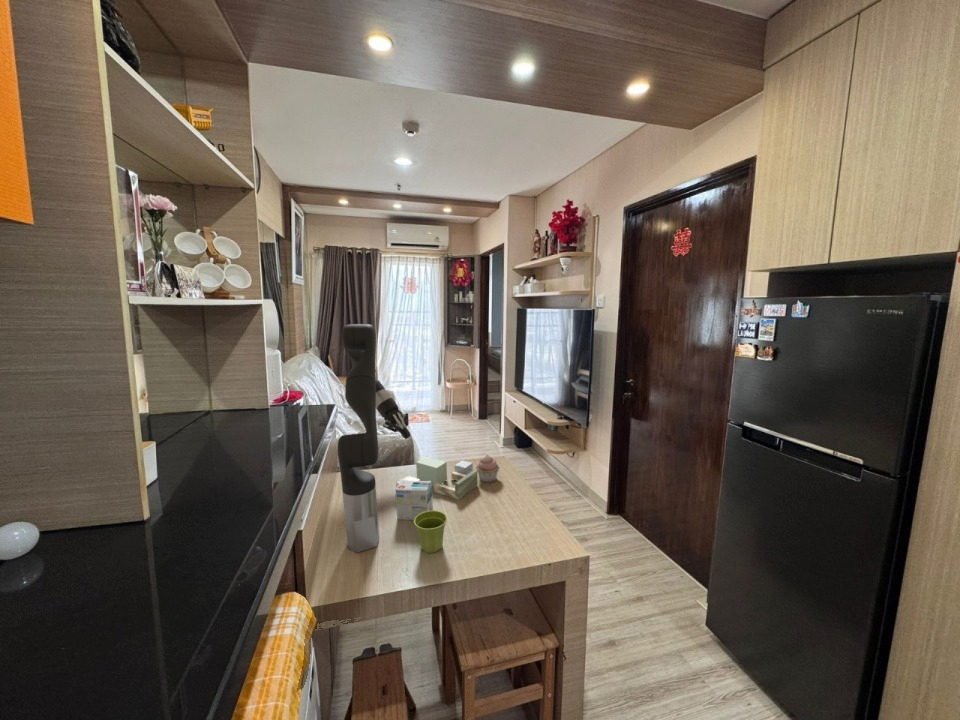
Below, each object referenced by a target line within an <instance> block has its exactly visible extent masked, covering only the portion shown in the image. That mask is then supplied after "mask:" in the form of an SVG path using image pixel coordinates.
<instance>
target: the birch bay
mask: <svg viewBox="0 0 960 720" xmlns="http://www.w3.org/2000/svg"><path fill="white" fill-rule="evenodd" d="M452 479H453V480H456V481H457V482H456V481H455V482H454V487H452V486H448V485H446V484H439V483H435V484H434V488H433V490H434V491H435V492H434V491H433V492H434V493H436V492H438V493H437V494H439V493H441V494H440V495H442V494H444V495H443V496H445V495H447V496H446V497H448V496H450V497H449V498H451V497H452V498H451V499H454V498H455V499H454V500H457V501H460V500H462V498H463V496H464V497H465V496H466V495H467V494H469V493H470V492H471V491H473V490H474V489H475V488H476V487H478V486H477V485H478V471H477V469H473V471H471V472H470V473H469V474H467V475H465V474H461V473H458V472H455V470H454V471H452V472H451V480H452ZM453 480H452V481H453ZM474 487H475V488H474ZM473 488H474V489H473ZM472 489H473V490H472ZM469 491H470V492H469ZM468 492H469V493H468ZM459 499H460V500H459Z"/></svg>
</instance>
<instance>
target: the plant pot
mask: <svg viewBox="0 0 960 720" xmlns="http://www.w3.org/2000/svg"><path fill="white" fill-rule="evenodd" d="M447 521H448V517H447V514H445V513H444V512H443V511H439V510H433V511H426V512H423V513H420V514H418V515H417V516H416V517H415V519H414V520H413V524H414V526H415V528H416V530H417V533H418V534H417V535H418V539H419V544H420V548H421V550H422V551H423V552H424V553H427V554H433V553H436V552H437V551H441V549H442V548H443V541H444V533H445V527H446V523H447Z"/></svg>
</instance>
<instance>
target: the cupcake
mask: <svg viewBox="0 0 960 720" xmlns="http://www.w3.org/2000/svg"><path fill="white" fill-rule="evenodd" d="M475 468H476V469H475V470H476V471H477V475H478V476H479V477H478V478H479V480H480V481H481V482H483V483H493V482H495V481H496V479H497V477H498V474H499V473H498V472H499V470H500V468H501V467H500V466H499V464H498V463H497V460H496V458H494V457H493V456H490V455H489V454H486V455H485V456H483V457H482V458H480V460H479V461H478V463H477V465H476V466H475Z"/></svg>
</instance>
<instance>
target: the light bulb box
mask: <svg viewBox="0 0 960 720" xmlns="http://www.w3.org/2000/svg"><path fill="white" fill-rule="evenodd" d="M400 480H401V479H400ZM394 492H395V503H396V504H395V506H396V516H397V517H396V520H404V521H405V520H407V521H408V520H409V521H414V519H415V517H416V516H417V515H418V514H420V513H423V512H426V511H434V505H433V504H434V503H433V502H434V501H433V486H432V483H431V481H404V480H401V482H400V483H399V485H398V486H397V488H395V491H394Z"/></svg>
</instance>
